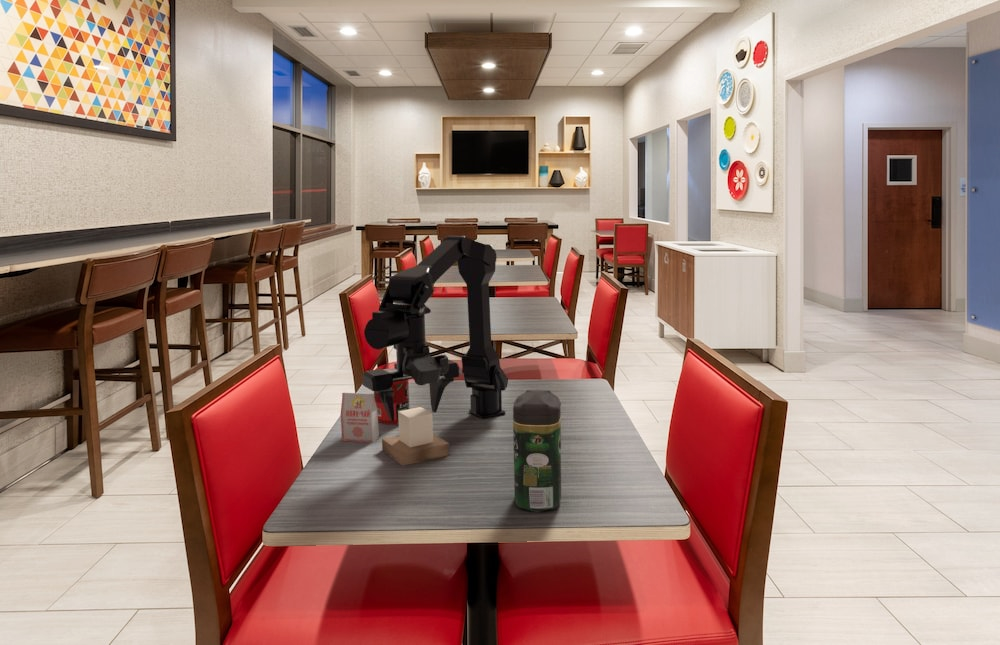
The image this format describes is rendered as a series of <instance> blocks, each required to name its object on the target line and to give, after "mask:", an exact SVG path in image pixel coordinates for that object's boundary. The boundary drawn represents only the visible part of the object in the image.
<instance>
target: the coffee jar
mask: <svg viewBox="0 0 1000 645" xmlns="http://www.w3.org/2000/svg"><path fill="white" fill-rule="evenodd" d="M561 405H562V402H561V400H560V398H559V397H558V396H557V395H556V394H555V393H553V392H552V391H551V390H548V389H547V390H546V389H545V390H543V389H527V390H526V391H525V392H523V393H522V394H520V395H518V396H517V397H516V399H515V400H514V402H513V407H512V408H513V409H512V412H513V413H512V414H513V415H512V416H513V417H512V421H513V422H512V423H513V424H512V425H513V426H512V431H513V432H512V436H513V437H512V439H513V442H512V444H513V471H514V472H513V477H514V478H513V479H514V483H513V484H514V502H515V505H516V506H517V507H518V508H519V509H524V510H527V511H530V512H544V511H549V510H554V509H557V508H558V506H559V505H560V503H561V500H562V420H561V419H562V413H561Z"/></svg>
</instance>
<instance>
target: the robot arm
mask: <svg viewBox="0 0 1000 645" xmlns="http://www.w3.org/2000/svg"><path fill="white" fill-rule="evenodd" d="M496 262H497V252H496V250H495V248H493V247H492V245H491V244H489V243H488V244H486V243H485V244H484V243H482V242H479V241H476V240H473V239H471V238H469V237H467V236H465V235H447V236H445V237H444V238H443V240H442V242H441V243H440V244H439V245H437V247H435V248H434V249H433V250H432V251H431V252H430V253H429V254H428V255H426V256H425V257H424V258H423V259H422V260H421V261H420V262H419V263H418V264H416V265H415V266H412V267H409V268H406V269H402V270H400V271H399V272H397V273H395V274H394V275H392V276H391V278H390V279H389V281H388V284H387V287H386V289H385V291H384V295H383V297H382V299H381V302H380V305H379V306H378V311H372V314H371V316H372V317H371V319H369V320H368V321H367V323H366V325H365V328H364V330H363V333H364V334H363V335H364V339H365V341H366V342H367V344H368V346H369V347H371V348H372V349H375V350H383V349H385V348H390V347H392V346H393V349H394V350H396V363H393V364H394V365H393V366H394V368H393V369H396V370H397V372H390V373H389V372H387V371H385V370H383V368H378V369H371V370H365V371H364V372H363V374H362V376H361V380H362V381H361V383H362V386H364V387H365V388H367V389H369V390H370V391H372V392H373V393H374V392H376V393H377V394H378V396H379V398H380V399H381V401H382V403H383V405H384V408H385V410H386V412H387V414H388V416H389V418H390V420H391V421H394V405H393V394H394V391H395V390H393V389H392V388H391V386H392V385H393V382H396V381H402V380H408V381H409V380H413V381H414V383H415V384H416V385H417V386H425V385H427V384H428V385H429V394H430V395H429V396H430V397H429V398H430V406H431V413H437V411H438V409H439V405H440V402H441V400H442V396H443V395H444V394H443V393H444V391H445V389H446V388H447V386H448V385H449V384H450V383H453V382H454V381H455V378H460V376H461V374H462V375H463V380H464V383H465V387H466V388H468V389H469V388H470V389H471V394H470V409H468V412H469V413H470V414H472V415H475V416H477V417H479V418H481V419H485V418H490V417H495V416H496V417H497V416H500V415H505V414H506V411H505V410H503V405H502V404H503V403H502V402H503V401H502V398H503V397H502V392H503V391H506V389H507V388H508V384H509V377H508V376H507V374H505V371H504V370H503V369H502V367H501V363H500V361H501V360H500V356H499V354H498V353H497V352H496V349H495V348H494V347H493V345H492V327H491V326H492V325H491V308H490V307H491V306H490V305H491V304H490V282H491V280H492V278H493V275H494V274H495V272H496ZM455 264H457V269H458V274H459V275H460V277H461V279H462V280H463V282H464V283H465V285H466V297H467V298H466V300H467V316H468V320H467V321H468V332H469V333H468V335H469V336H468V337H469V347H468V350H467V351H466V353H465V354H464V355H462V356H461V367H462V368H460V365H459V363H457V362H456V361H453V360H451V359H449V357H448V356H447V355H446V354H440V355H434V356H431V352H430V346H429V345H428V344H427V343H426V342H427V341H426V318H425V317H426V316H425V315H427V314H430V313H431V312H432V311H431V309H430V308H429V307H428V306H426V303H427V302H428V300H429V299H430V298H431V296H432V295H433V293H434V290H435V289H434V288H435V284H436V282H438V280H439V279H440V278H441V277H442V276H443V275H444V274H445V273H447V272H448V271H449V269H450V268H452V266H454V265H455ZM403 375H405V376H403Z"/></svg>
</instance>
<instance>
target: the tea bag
mask: <svg viewBox="0 0 1000 645" xmlns="http://www.w3.org/2000/svg"><path fill="white" fill-rule="evenodd" d="M341 394H342V395H341V398H342V399H341V408H340V424H341V425H340V427H341V428H340V430H341V441H342V442H360V443H374V442H375V441H376V440H377V439H378V438H379V435H380V433H379V422H378V412H377V406H376V403H375V398H374V393H368V392H367V393H365V392H361V393H360V392H342V393H341Z"/></svg>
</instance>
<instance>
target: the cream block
mask: <svg viewBox="0 0 1000 645" xmlns="http://www.w3.org/2000/svg"><path fill="white" fill-rule="evenodd" d="M398 420H399V423H398V435H399V440H400V441H401V442H403V443H404V444H406V445H407V446H409V447H414V446H419V445H423V444H428V443H432V442H433V434H434V428H433V427H434V426H433V422H434V421H433V412H432V411H428V410H427V409H426V408H423V407H421V406H419V407H418V406H417V407H413V408H409V409H408V410H403V411H398Z"/></svg>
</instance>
